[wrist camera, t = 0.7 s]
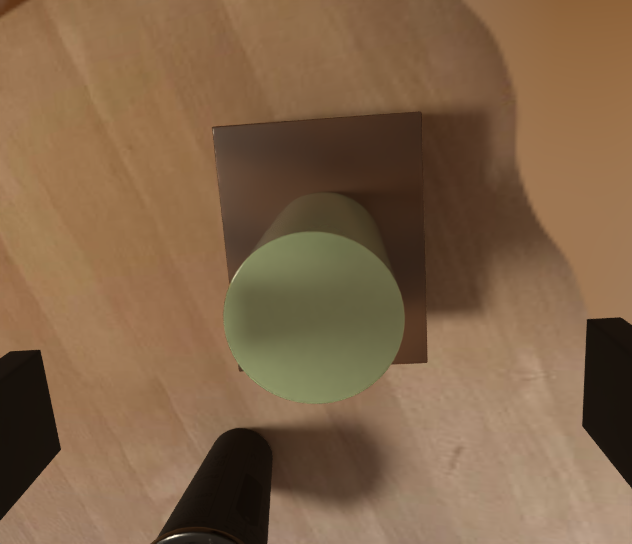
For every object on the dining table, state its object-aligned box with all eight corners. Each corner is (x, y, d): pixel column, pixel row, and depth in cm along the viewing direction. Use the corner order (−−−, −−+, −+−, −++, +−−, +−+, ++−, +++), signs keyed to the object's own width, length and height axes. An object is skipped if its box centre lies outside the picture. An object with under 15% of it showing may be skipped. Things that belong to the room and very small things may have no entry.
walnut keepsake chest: (240, 126, 39) (211, 126, 31) (403, 114, 39) (421, 111, 30) (260, 321, 43) (238, 371, 34) (410, 313, 42) (427, 363, 33)
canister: (261, 195, 31) (212, 237, 20) (379, 188, 31) (401, 225, 19) (271, 308, 33) (232, 408, 21) (384, 302, 32) (408, 400, 21)
